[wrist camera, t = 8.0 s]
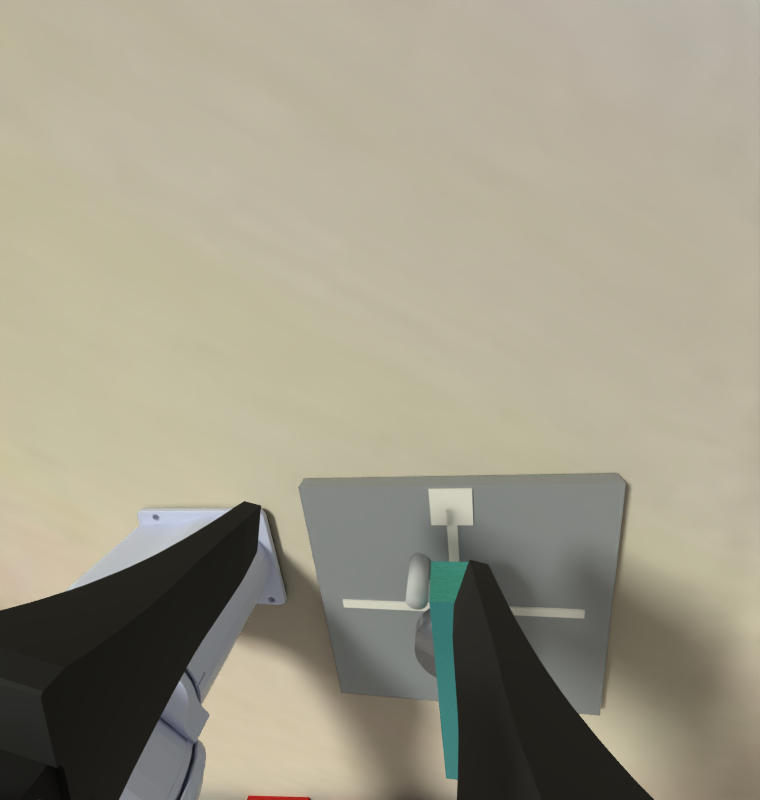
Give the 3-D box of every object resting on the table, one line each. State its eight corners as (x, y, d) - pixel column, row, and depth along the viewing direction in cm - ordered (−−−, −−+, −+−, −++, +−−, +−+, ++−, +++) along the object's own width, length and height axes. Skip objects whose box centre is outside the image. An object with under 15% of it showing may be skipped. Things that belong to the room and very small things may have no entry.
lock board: (344, 679, 30) (330, 738, 26) (304, 478, 24) (278, 518, 20) (594, 699, 27) (618, 770, 23) (617, 472, 21) (655, 519, 17)
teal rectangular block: (503, 712, 24) (512, 786, 21) (424, 705, 25) (421, 775, 22) (500, 545, 20) (512, 604, 17) (406, 544, 21) (398, 600, 18)
